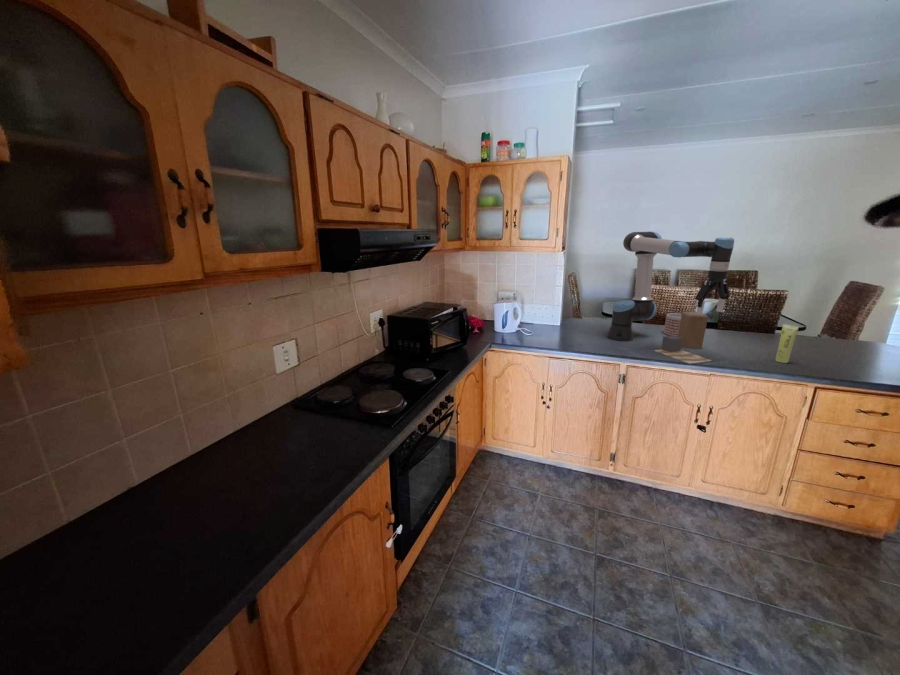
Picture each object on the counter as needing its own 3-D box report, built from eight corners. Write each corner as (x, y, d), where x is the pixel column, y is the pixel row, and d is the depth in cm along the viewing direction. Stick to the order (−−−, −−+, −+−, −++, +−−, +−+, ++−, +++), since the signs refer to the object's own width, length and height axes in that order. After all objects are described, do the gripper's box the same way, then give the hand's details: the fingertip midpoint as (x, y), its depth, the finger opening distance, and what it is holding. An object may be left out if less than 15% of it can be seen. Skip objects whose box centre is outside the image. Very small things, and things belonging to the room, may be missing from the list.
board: (653, 352, 198) (653, 350, 198) (674, 349, 202) (674, 347, 202) (689, 365, 178) (689, 363, 178) (711, 362, 182) (712, 360, 182)
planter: (687, 333, 234) (691, 314, 230) (688, 338, 223) (691, 318, 219) (664, 330, 241) (667, 312, 237) (662, 335, 230) (666, 316, 226)
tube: (773, 361, 182) (783, 324, 177) (773, 359, 186) (783, 322, 180) (788, 364, 179) (799, 326, 173) (788, 361, 182) (798, 324, 177)
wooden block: (702, 350, 201) (709, 315, 195) (682, 349, 203) (689, 315, 197) (694, 344, 210) (700, 311, 204) (675, 343, 212) (681, 311, 206)
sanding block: (660, 350, 198) (663, 336, 196) (670, 348, 200) (673, 335, 198) (670, 353, 192) (672, 339, 190) (680, 352, 194) (682, 338, 192)
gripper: (706, 272, 167) (697, 316, 173) (744, 270, 174) (734, 312, 180) (692, 270, 173) (683, 312, 180) (729, 268, 181) (719, 309, 187)
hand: (709, 312), depth 180 cm, fingers open, 13 cm apart
